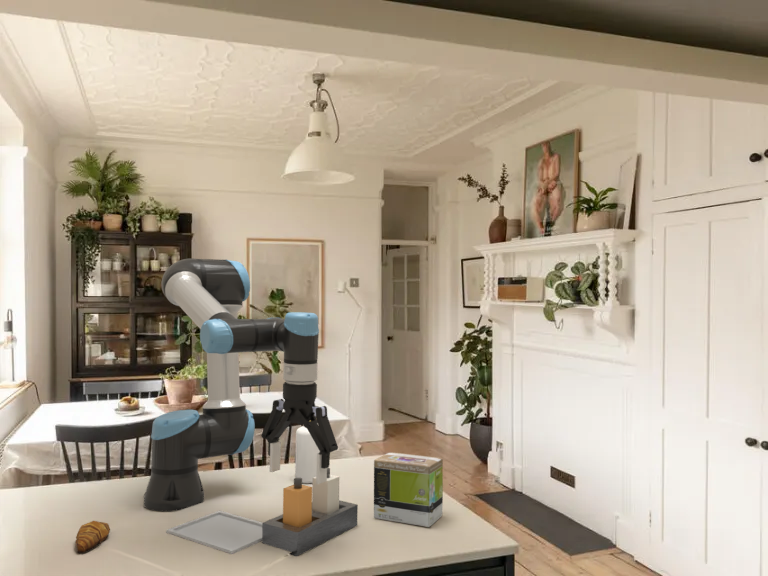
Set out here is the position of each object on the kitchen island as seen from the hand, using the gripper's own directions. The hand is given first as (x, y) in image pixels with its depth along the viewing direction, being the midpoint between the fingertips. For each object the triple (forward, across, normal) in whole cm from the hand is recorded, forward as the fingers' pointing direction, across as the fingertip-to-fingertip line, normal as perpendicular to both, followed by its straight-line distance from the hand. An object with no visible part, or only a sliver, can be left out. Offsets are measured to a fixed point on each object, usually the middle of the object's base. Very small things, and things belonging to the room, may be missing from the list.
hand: (297, 476), depth 144 cm
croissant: (+16, -36, -26) cm, 47 cm away
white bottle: (+16, -27, +38) cm, 49 cm away
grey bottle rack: (+14, +1, +5) cm, 15 cm away
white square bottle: (+12, +1, +10) cm, 16 cm away
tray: (+15, -16, -6) cm, 23 cm away
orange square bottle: (+12, +1, 0) cm, 12 cm away
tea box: (+15, +13, +28) cm, 34 cm away
